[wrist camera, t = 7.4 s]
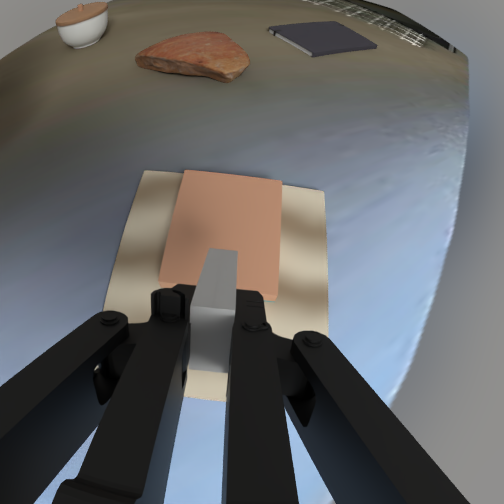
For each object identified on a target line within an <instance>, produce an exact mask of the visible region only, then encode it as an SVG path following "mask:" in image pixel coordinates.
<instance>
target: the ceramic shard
mask: <svg viewBox="0 0 504 504" xmlns="http://www.w3.org/2000/svg"><path fill="white" fill-rule="evenodd" d="M135 60H136V62H137V65H138V66H139V67H142V68H145V69H151V70H157V71H162V72H167V73H170V72H172V73H180V74H184V75H196V76H208V77H210V78H212V79H215V80H218V81H220V82H224V83H229V82H231V81H233V80H234V79H235V78H237V77H239V76H240V75H241V74H242V72H243V71H244V70H245V69H246V68H247V67H248V66H249V64H250V59H249V57H248V55H247V53H246V52H245V51H244V50H243V49H242V48H241V47H240V46H239V45H238V44H236V43H235V42H233V40H232V39H230V38H229V37H228V36H227V35H225V34H223V33H219V32H199V33H191V34H184V35H180V36H176V37H172V38H169V39H166V40H163V41H161V42H159V43H157V44H154V45H152V46H150V47H148V48H146V49H144V50H143V51H141V52H140V53H138V54H137V55H136V56H135Z"/></svg>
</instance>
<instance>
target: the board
mask: <svg viewBox="0 0 504 504" xmlns="http://www.w3.org/2000/svg"><path fill="white" fill-rule="evenodd" d="M183 175H184V173H173V172H161V171H147V170H144V173H143V176H142V179H141V181H140V184H139V187H138V190H137V193H136V196H135V199H134V201H133V204H132V207H131V211H130V214H129V217H128V220H127V223H126V226H125V229H124V233H123V236H122V239H121V243H120V246H119V250H118V253H117V257H116V260H115V264H114V268H113V272H112V275H111V279H110V283H109V287H108V291H107V296H106V300H105V304H104V309H103V311H107V310H110V311H111V310H114V311H118V312H121V313H123V314H125V315H126V316H127V317H128V323H144V322H148V320H149V318H150V316H151V293H152V292H153V291H155V290H157V289H161V287H160V285H159V282H158V279H159V274H160V269H161V264H162V260H163V255H164V251H165V246H166V242H167V238H168V233H169V229H170V225H171V221H172V217H173V213H174V209H175V205H176V201H177V197H178V193H179V190H180V186H181V182H182V178H183ZM264 306H265V313H266V319H267V322H268V323H269V324H270V325H271V327H272V332H273V333H274V334H276V335H278V336H281V337H284V338H288V339H292V340H293V337H294V335H295V334H296V333H298V332H300V331H310V330H311V331H317V332H319V333H321V334H324V335H326V336H327V337H328V263H327V237H326V217H325V201H324V191H319V190H313V189H307V188H300V187H293V186H287V185H282V209H281V237H280V261H279V283H278V296H277V298H276V300H275V302H267V301H264ZM97 368H98V365H97V367H96V368H95V370H96V369H97ZM227 380H228V373H218V372H209V371H200V370H191V369H189V363H188V367H187V382H186V387H185V392H184V397H191V398H198V399H206V400H214V401H223V402H226V390H227Z"/></svg>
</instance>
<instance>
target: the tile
mask: <svg viewBox="0 0 504 504" xmlns="http://www.w3.org/2000/svg"><path fill="white" fill-rule="evenodd" d="M281 209H282V181H279V180H272V179H264V178H257V177H249V176H241V175H232V174H223V173H214V172H204V171H194V170H185V171H184V175H183V178H182V182H181V186H180V190H179V193H178V197H177V201H176V205H175V209H174V213H173V217H172V221H171V225H170V229H169V233H168V238H167V242H166V246H165V251H164V255H163V260H162V264H161V269H160V274H159V279H158V282H159V285H160V287H161V288H172V287H174V286H175V285H177V284H187V285H196V286H197V283H198V280H199V277H200V274H201V271H202V268H203V265H204V262H205V259H206V256H207V253H208V250H209V248H214V249H224V250H234V251H238V259H237V283H236V289H243V290H253V291H258V292H259V293H260V294H261V295H262V296H263V299H264V301H267V302H275V300H276V298H277V296H278V283H279V261H280V237H281Z"/></svg>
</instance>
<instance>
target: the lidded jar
mask: <svg viewBox="0 0 504 504" xmlns="http://www.w3.org/2000/svg"><path fill="white" fill-rule="evenodd" d="M107 8H108V5H107V3H105V2H95V3H90V4H86V5H83V4H79V5H78V7H77V8H74V9H72V10H70V11H67V12H66V13H64V14H62V15H61V16H60V17H58V18H57V19H56V25H57V28H58V32H59V35H60V37H61V39H62V40H63V41H64V43H66V44H67V45H69V46H72V47H73V48H74V49H80V48H84V47H88V46H90V45H92V44H94V43H96V42H98V41H99V40H100V38H101V36H102V35H103V33H104V32H105V30H106V27H107V23H108V10H107Z"/></svg>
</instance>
